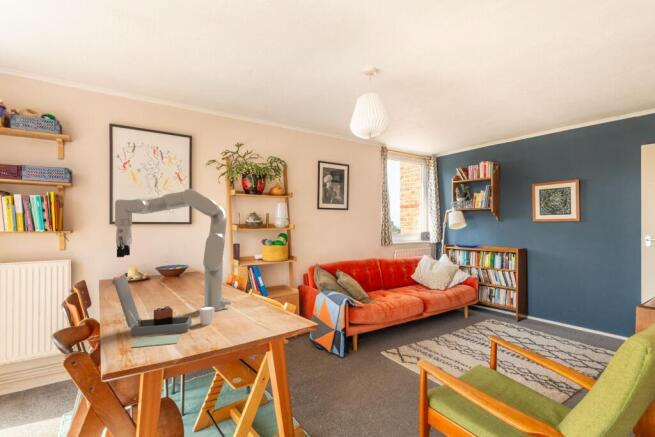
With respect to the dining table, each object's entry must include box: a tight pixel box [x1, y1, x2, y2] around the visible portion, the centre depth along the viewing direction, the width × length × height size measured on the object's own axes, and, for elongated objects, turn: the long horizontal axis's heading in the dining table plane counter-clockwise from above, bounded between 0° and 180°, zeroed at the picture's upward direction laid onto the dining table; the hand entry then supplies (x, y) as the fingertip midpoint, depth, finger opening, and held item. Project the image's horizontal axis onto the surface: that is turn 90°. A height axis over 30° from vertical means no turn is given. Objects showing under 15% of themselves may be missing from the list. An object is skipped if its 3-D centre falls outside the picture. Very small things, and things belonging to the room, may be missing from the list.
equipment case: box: [128, 310, 192, 337], centre depth 143 cm, size 23×12×11 cm, turn 105°
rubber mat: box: [130, 333, 182, 349], centre depth 129 cm, size 16×10×1 cm, turn 105°
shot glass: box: [198, 306, 215, 326], centre depth 153 cm, size 7×7×7 cm
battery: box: [153, 305, 173, 326], centre depth 143 cm, size 4×7×10 cm, turn 134°
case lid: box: [113, 275, 140, 329], centre depth 139 cm, size 21×12×1 cm
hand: (123, 256), depth 166 cm, fingers open, 9 cm apart
